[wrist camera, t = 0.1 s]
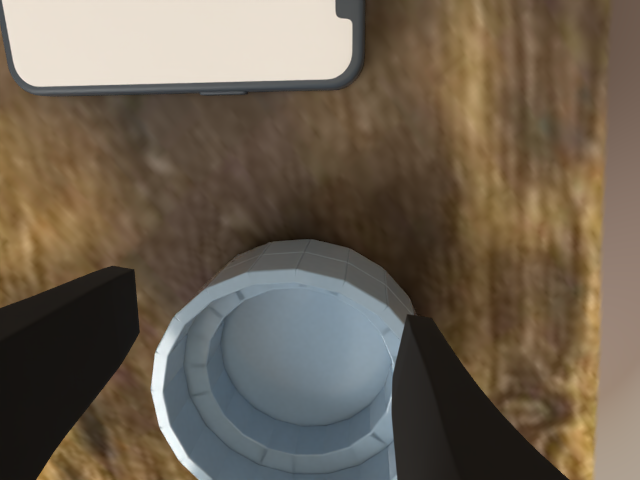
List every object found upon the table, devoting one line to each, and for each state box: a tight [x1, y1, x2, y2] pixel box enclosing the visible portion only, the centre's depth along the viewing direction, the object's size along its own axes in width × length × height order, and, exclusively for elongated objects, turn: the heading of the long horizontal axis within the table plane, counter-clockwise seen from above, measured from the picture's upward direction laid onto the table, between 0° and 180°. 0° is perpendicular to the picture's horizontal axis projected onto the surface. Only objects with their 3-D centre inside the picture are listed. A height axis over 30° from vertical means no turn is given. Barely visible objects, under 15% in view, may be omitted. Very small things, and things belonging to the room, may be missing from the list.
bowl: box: [151, 239, 417, 480], centre depth 21 cm, size 12×12×5 cm
